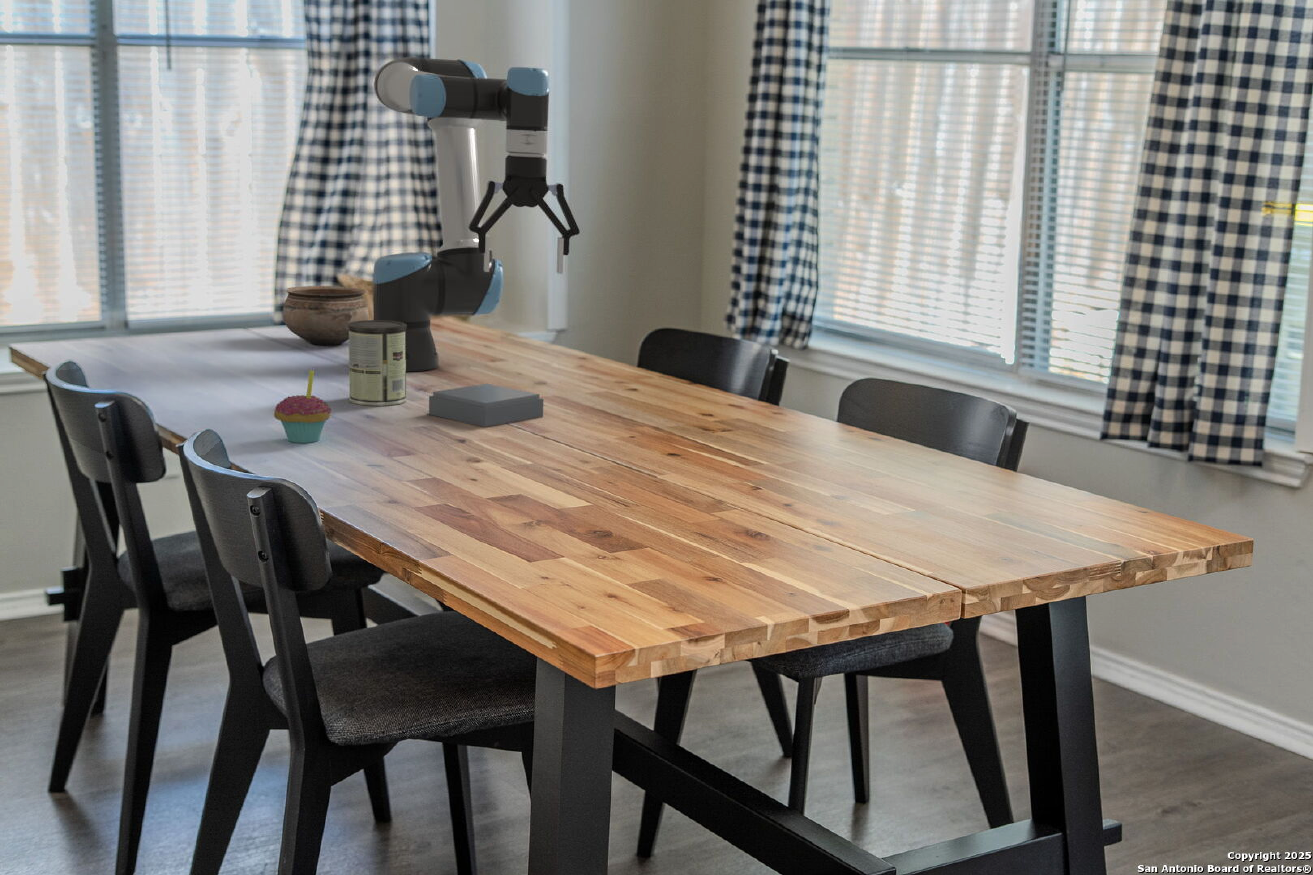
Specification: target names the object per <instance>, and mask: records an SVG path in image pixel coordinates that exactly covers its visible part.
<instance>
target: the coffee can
mask: <svg viewBox="0 0 1313 875" xmlns="http://www.w3.org/2000/svg"><path fill="white" fill-rule="evenodd" d="M348 328H349V340H348V357H349V358H348V359H349V360H348V363H349V364H348V365H349V366H348V369H349V370H348V372H349V373H348V374H349V399H348V400H349V403H352V404H355V405H360V406H367V407H368V406H370V407H372V406H373V407H382V406H395V405H397V406H398V405H400V404H403V403H406V402H407V371H406V328H407V325H406V324H405V323H403V322H398V321H388V320H374V319H370V320H369V319H368V320H364V321H355V322H351V323H349V324H348Z"/></svg>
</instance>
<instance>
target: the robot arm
mask: <svg viewBox="0 0 1313 875" xmlns="http://www.w3.org/2000/svg"><path fill="white" fill-rule="evenodd" d="M549 76H550V75H549V72H548V71H547V69H545V68H539V67H529V66H528V67H523V66H522V67H521V66H513V67H510V68H508V70H507V76H506V78H504V79H503V78H488V75H487V73H486V71H485V69H484V68H483V67H482V66H481V64H479V63H477V62H474V61H469V60H462V59H443V58H442V59H441V58H430V57H429V58H428V57H427V58H425V57H412V56H411V57H410V56H407V57H400V58H397V59H393V60H391V61H388V62H387V63H384V64H383V65H382V66H381V67H380V68H379V69H378V71H377V73H376V75H375V77H374V82H373V90H374V93H375V95H376V97H377V99H378V101H379V102H380V103H381V104H382V105H383V106H384V107H386V108H387V109H390V110H393V111H394V112H399V113H403V114H408V115H415V116H418V117H425V118H426V122H427V123H426V124H427V127H428V128H429V129H430V130H432V132H434V134H435V142H436V143H435V145H436V157H437V158H436V159H437V173H438V176H437V177H438V188H439V202H440V204H439V205H440V215H441V232H442V245H441V246H440V247H439V248H438V250H437V251H436V259H433V257H432V256H431V253H429V252H425V251H417V252H410V251H409V252H401V253H394V254H389V255H384V256H382V257H381V256H380V258H378V259H377V260H376V261H375V262H374V265H373V276H372V284H373V285H372V286H373V289H372V290H373V294H372V295H373V298H372V300H373V320H388V321H398V322H403V323H405V324H406V325H407V328H406V372H420V371H421V372H422V371H429V370H435V369H437V368H438V367H439V365H440V364H439V362H440V361H439V360H440V359H439V358H440V357H439V354H438V352H437V348H436V344H435V340H434V337H433V334H432V331H431V330H432V329H431V317H432V316H471V317H473V316H478V315H490V314H491V313H493V312H494V311H495V310H496V309H497V307H498V305H499V304H500V300H501V297H502V293H503V288H504V287H503V286H504V268H503V264H502V262H501V261H500V260H498V259H496V258H493V250H492V248H491V247H490V246H491V245H490V244H491V236H490V235H489V234H487V233H488V232H489V231H490V230H491V228H492V227H494V225H495V224H496V223H497V222H498V221H499V220H500V218H502V217H503V215H504V214H505V213H506V212H507V211H508V209H509V208H510V207H512V205H513V206H515V207H517V208H523V207H528V208H536V207H537V206H538V207H539V209H540V210H541V211H542V212H543V213H544V214H545V215H546V217H547V219H549V221H550V222H551V224H552V225H553V226H554V227H555V228H556V230H557V231H558V232H559V233H560V235H561V237H560V236H558V237H557V247H556V251H557V252H556V253H557V254H556V273H557V274H559V275H560V274H561V275H563V272H564V256H568V255H569V254H570V239H571V238H572V237H574V236H577V235H580V231H581V230H580V229H579V227H578V224H577V221H576V220H575V217H574V215H573V212H572V210H571V209H570V206H569V204H568V201H567V200H566V197H565V192H564V190H565V188H564V185H563V184H562V183H559V182H557V183H555V184H548V181H547V165H548V164H547V163H548V159H547V158H546V157H545V156H544V155H546V154H548V153H547V152H548V127H549V126H548V125H549V123H548V122H549V121H548V120H549V100H550V99H549V98H550V90H551V89H550V78H549ZM483 120H484V121H498V122H505V124H506V125H505V152H506V153H508V155H506V157H505V161H504V162H505V163H504V164H505V165H504V167H505V168H504V181H503V182H496V181H494V180H488V181H487V185H486V192H485V193H484V194H485V195H484V196H483V198H482V195H481V182H480V168H479V152H478V140H477V138H478V136H477V132H478V130H479V129H480V128H481V127H482V125H484V123H483V122H484V121H483ZM500 190H502V191H503V192H504V194H505V196H506V198H505V199H504V200H502V202H501V203H500V205H499V206H498V207H497V208H496V210H494V212H492V214H491V215H490V216H489V217H488V218H487V219H486V221H485V222H484V221H483V218H484V216H485V213H486V211H487V209H488V207H489V206H490V203H491V202H492V200H493V197H494V195H496V194H498V193H499V191H500ZM549 191H550V192H551V195H552V196H554V197H556V200H557V203H558V205H559V206H560V209H561V212H562V214H563V216H564V218H565V221H566V223H567V226H568V227H569V229H567V228H566V227H565V225H564V224H563V223H562V221H561V220H560V219H559V218H558V216H557V215H556V214H555V212H554V211H553V210H552V208H550V206H549V204H548V203H547V201H545V199H544V198H545V197H546V195H547V194H548V193H549ZM483 222H484V223H483Z"/></svg>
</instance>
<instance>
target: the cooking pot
mask: <svg viewBox="0 0 1313 875" xmlns="http://www.w3.org/2000/svg"><path fill="white" fill-rule="evenodd" d="M285 291H286V292H287V296H286V299H285V301H284V305H283V308H282V313H281V314H282V319H283V323H284V324H285V325H286V327H287V328H288V330H289V331H291V333H293V334H294V335H295V336H297V337H298V338H300V339H302V340H304V341H306V342H307V343H309V344H310V345H312V346H318V347H338V346H341V345H342V344H344V343H346V342H347V341H349V328H348V324H349V323H351V322H355V321H364V320H369V316H370V315H369V308H368V305H367V302H366V300H365V298H364V296H363V295H364V294H365V292H366V290H365V289H363V288H357V287H352V286H351V287H348V286H337V285H335V286H334V285H305V286H294V287H292V286H291V287H289V288H288V287H287V288H286V289H285Z"/></svg>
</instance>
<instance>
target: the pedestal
mask: <svg viewBox="0 0 1313 875" xmlns="http://www.w3.org/2000/svg"><path fill="white" fill-rule="evenodd" d="M432 394H433V395H429V396H428V400H429V401H428V414H429V415H431V416H435V417H440V418H445V419H449V420H453V421H457V422H460V423H465V424H471V425H474V426H477V427H478V426H479V427H482V428H489V427H494V426H499V425H505V424H511V423H515V422H516V423H517V422H521V421H527V420H532V419H537V418H543V417H544V398H541V397H540V394H539V393H535V392H529V391H526V390H521V389H515V388H511V387H505V386H501V385H495V384H491V383H483V384H476V385H471V386H470V385H469V386H463V387H456V388H449V389H448V388H447V389H442V390H435V391H433V392H432Z"/></svg>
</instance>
